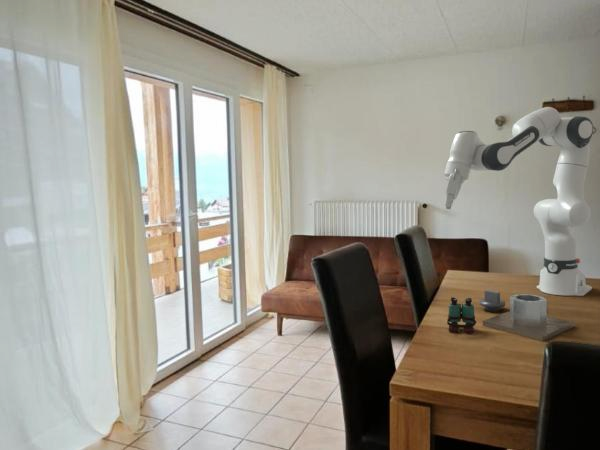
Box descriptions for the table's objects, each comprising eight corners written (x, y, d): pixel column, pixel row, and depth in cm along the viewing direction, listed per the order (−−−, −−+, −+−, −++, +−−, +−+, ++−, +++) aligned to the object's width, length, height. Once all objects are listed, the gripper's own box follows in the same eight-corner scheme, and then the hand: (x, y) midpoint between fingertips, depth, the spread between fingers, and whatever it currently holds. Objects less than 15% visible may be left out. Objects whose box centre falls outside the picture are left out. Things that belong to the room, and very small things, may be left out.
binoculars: (446, 306, 141) (447, 295, 151) (447, 337, 143) (447, 324, 153) (477, 307, 138) (475, 296, 148) (477, 339, 140) (475, 325, 150)
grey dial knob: (488, 304, 174) (488, 287, 173) (510, 309, 166) (510, 291, 165) (474, 309, 169) (474, 291, 168) (496, 314, 161) (496, 295, 160)
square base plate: (515, 313, 162) (515, 287, 161) (574, 326, 145) (575, 298, 144) (482, 325, 151) (482, 297, 150) (542, 341, 134) (542, 310, 133)
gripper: (466, 169, 158) (456, 207, 159) (465, 178, 177) (456, 212, 178) (447, 166, 160) (438, 203, 161) (449, 175, 180) (440, 208, 180)
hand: (447, 207), depth 169 cm, fingers open, 8 cm apart
